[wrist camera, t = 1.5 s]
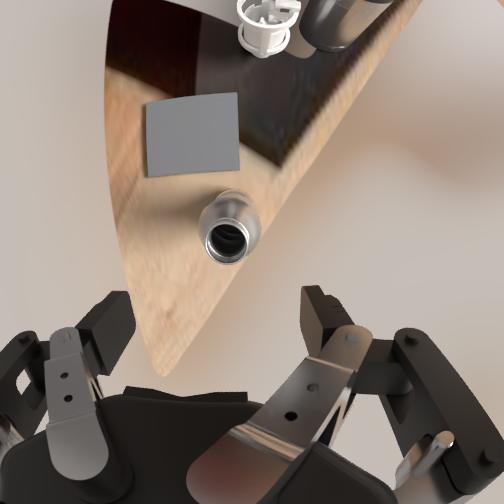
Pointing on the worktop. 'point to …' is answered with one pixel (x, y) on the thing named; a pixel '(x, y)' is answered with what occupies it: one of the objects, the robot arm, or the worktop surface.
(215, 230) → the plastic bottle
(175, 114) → the board
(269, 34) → the white cylindrical piece
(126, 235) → the worktop surface
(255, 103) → the worktop surface
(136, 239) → the worktop surface
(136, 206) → the worktop surface
